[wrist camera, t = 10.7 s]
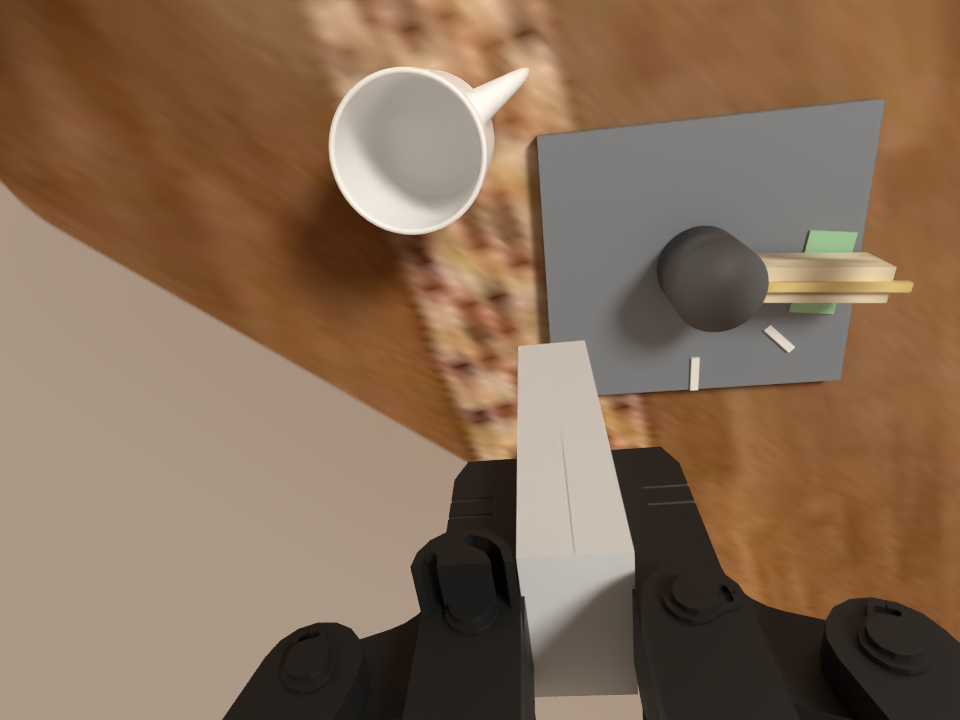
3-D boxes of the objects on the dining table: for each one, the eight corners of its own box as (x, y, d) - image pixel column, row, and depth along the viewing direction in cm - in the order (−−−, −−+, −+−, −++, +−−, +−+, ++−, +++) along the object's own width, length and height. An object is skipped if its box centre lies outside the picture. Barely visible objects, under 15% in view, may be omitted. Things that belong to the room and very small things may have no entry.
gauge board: (536, 135, 41) (537, 137, 40) (874, 98, 39) (886, 99, 38) (553, 391, 50) (554, 399, 48) (832, 373, 47) (841, 381, 46)
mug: (560, 130, 41) (572, 146, 31) (419, 223, 44) (389, 263, 35) (494, 9, 38) (485, -15, 29) (348, 117, 42) (295, 129, 32)
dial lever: (652, 306, 45) (667, 332, 40) (661, 225, 42) (678, 243, 38) (862, 306, 44) (901, 333, 39) (884, 224, 41) (929, 242, 36)
